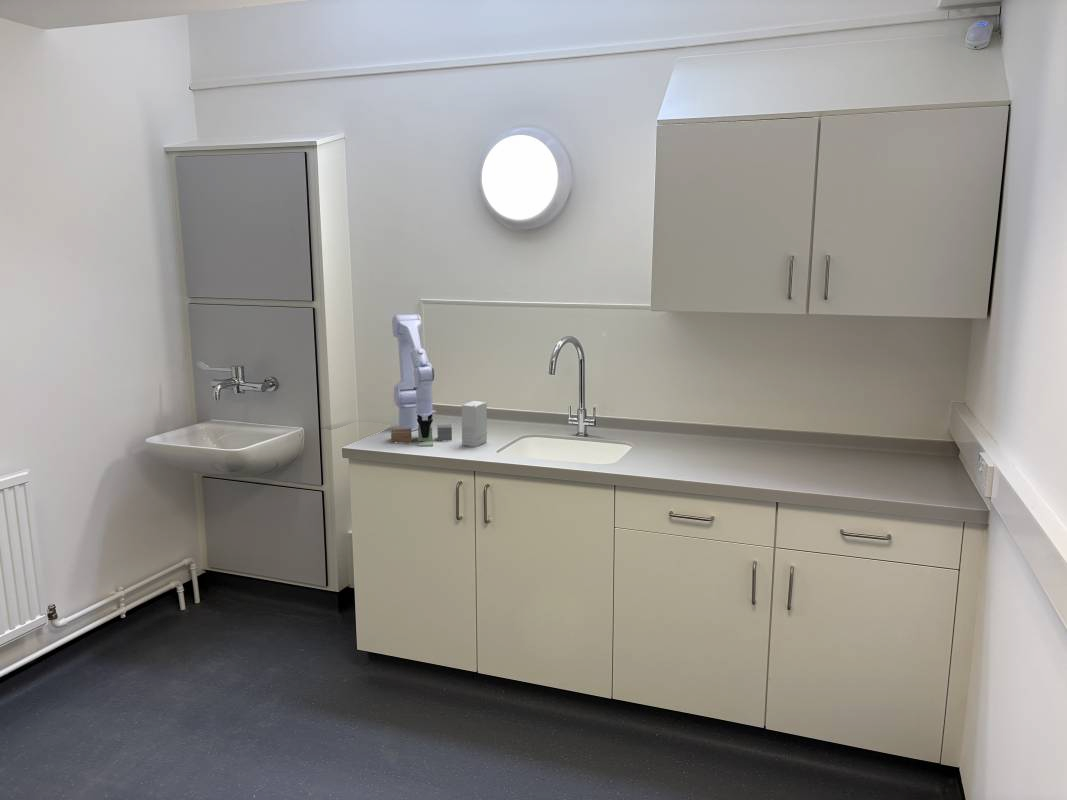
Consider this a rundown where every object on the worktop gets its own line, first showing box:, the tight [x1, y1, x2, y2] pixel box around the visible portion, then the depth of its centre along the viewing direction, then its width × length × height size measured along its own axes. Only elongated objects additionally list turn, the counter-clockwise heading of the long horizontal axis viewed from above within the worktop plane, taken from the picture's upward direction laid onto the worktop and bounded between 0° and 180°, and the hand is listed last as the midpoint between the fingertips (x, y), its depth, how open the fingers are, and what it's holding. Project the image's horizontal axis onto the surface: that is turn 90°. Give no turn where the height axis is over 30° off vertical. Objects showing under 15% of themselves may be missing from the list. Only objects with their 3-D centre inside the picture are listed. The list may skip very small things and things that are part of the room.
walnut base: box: [390, 428, 413, 444], centre depth 281 cm, size 7×7×4 cm
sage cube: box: [417, 424, 433, 442], centre depth 282 cm, size 5×5×5 cm
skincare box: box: [461, 400, 488, 448], centre depth 275 cm, size 8×6×15 cm
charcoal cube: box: [436, 423, 453, 442], centre depth 283 cm, size 5×5×5 cm
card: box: [418, 440, 434, 447], centre depth 275 cm, size 5×5×1 cm
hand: (425, 435), depth 282 cm, fingers closed on sage cube, 5 cm apart
